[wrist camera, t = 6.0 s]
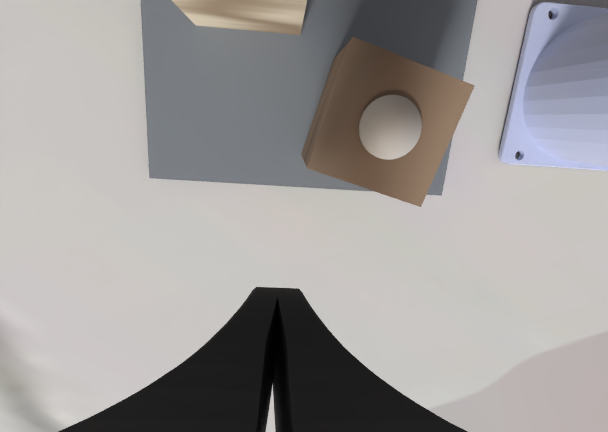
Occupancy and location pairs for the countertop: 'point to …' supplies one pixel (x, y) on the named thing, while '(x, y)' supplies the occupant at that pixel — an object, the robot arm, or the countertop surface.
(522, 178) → the countertop surface
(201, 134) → the slate mat
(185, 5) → the maple block
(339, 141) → the walnut block
